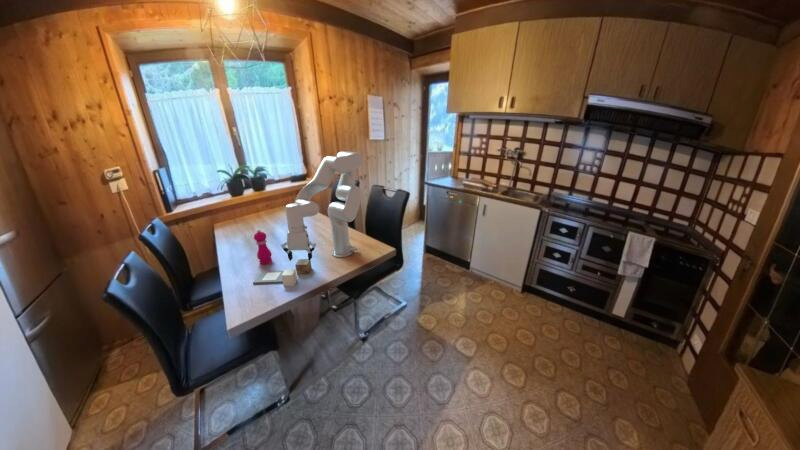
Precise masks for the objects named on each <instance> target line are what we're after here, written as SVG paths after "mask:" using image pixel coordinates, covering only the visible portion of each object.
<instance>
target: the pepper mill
mask: <svg viewBox="0 0 800 450" xmlns="http://www.w3.org/2000/svg"><path fill="white" fill-rule="evenodd" d="M253 239H254V241H255V242H256V245H257V246H258V250H257V254H256V256H257V257H256V258H257V259H258V260H259V265H264V266H265V265H269V264H271V263H272V262H273V259H272V252H271V250H270V249H269V248H268V247H267V246H268V245H267V234H266V233H265V232H264V231H261V229H257V230H256V232H255V234H254V235H253Z"/></svg>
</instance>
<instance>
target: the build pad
mask: <svg viewBox="0 0 800 450" xmlns="http://www.w3.org/2000/svg"><path fill="white" fill-rule="evenodd" d="M284 271H285V270H269V271H261V272H260V273H259V275H257V277H256V278H255V279H254V281H253V282H252V284H253V285H263V284H265V285H266V284H267V285H268V284H269V285H270V284H283V281H282V276H281V275H282V274H283V272H284Z"/></svg>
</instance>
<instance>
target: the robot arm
mask: <svg viewBox="0 0 800 450" xmlns="http://www.w3.org/2000/svg"><path fill="white" fill-rule="evenodd" d="M363 164H364V157H363V155H362V154H361V153H360V152H358V151H349V150H347V151H346V150H342V151H339V152H338V153H337V154H336V155H335V156H334V155H327V156H325V157H324V158H323V159H322V161H321V162H320V165H319V166H318V168H317V170H316V172H315V174H314V176H313V178H312V180H310V181H309V182H308V183H306V185H304V186H303V187H302V188H301V189H300V190H299V192H298V194H297V196H296V198H295V200H294V202H293V203H288V204H286V206H284V207H285V208H284V209H285V216H286V222H287V223H286V224H287V230H288V231H287V234H286V242H283V243H282V244H280V246H281V248H282V249H283V251H284V252H285V253H286V254H287V258H288V260H289V262H291V261H292V260H293V251H306V252H307V259H308V260H310V261H312V260H311V259H312V258H313V251H314V250H315V249H316V246H317V243H315V242H312V241H310V236H309V232H308V230H307V229H308V225H305V221H304V218H311V217H314V216H317V214H319V212H320V206H319V205H318V204H317V203H316V202H315V201H312V200H311V199H312V197H313V196H314V195H315V194H317V193H319V192H323V191H324V190H326V189H328V188H329V186H330V184H331V182H332V181H333V179H334V176H335V175H336V174H338V175H339V174H340V177H339V181H338V183H337V185H336V186H337V187H336V189H335V197H336V198H337V199H338V200H340V201H343V202H340V201H334V202H333V201H332V202H331V203H330V204H328V207H327V215H328V218H329V221H330V228H331V236H332V244H333V249H332V250H331V255H332V256H333V257H335V258H346V257H348V256H350V255H352V254H353V253H354V251H358V247H357V246H356V245H352V243H350V233H349V223H351V222H353V221H354V219H355V218H356V217H357V214H358V212H359V207H360V204H361V201H362V198H363V192H362V190H361V188H360V187H359V186H358V185H355V183H356V180H357V179H356V178H357V174H356V171H355V170H357V169H360V168H361V167H362V166H363ZM344 202H345V203H344ZM286 246H287V247H286ZM310 246H312V247H310Z"/></svg>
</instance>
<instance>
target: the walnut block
mask: <svg viewBox="0 0 800 450" xmlns="http://www.w3.org/2000/svg"><path fill="white" fill-rule="evenodd" d="M311 261H312V260H308V258H299V259H298V260H297V262H296V263H295V265H294V266H295V270H296V276H300V275H301V276H303V275H305V276H306V275H310V272H311V270H312V263H311Z"/></svg>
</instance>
